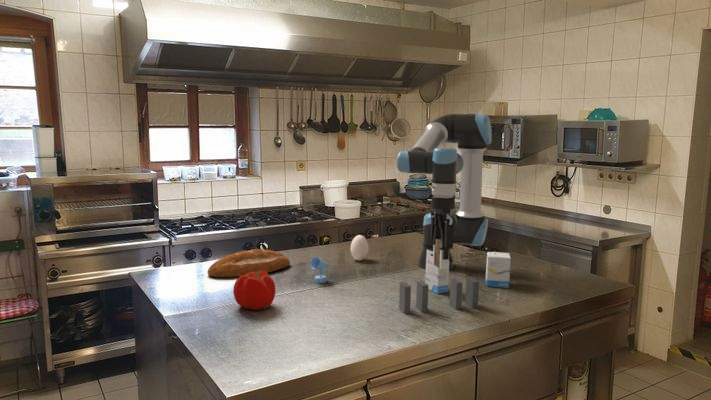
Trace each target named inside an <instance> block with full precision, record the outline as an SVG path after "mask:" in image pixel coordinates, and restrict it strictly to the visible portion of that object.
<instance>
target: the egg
mask: <svg viewBox="0 0 711 400" xmlns="http://www.w3.org/2000/svg"><path fill="white" fill-rule="evenodd" d="M350 254H351V256H352V257H353V258H354V259H355V260H357V261H363V260H365V258H367V256H368V254H369V243H368V241H367V239H366V237H365V236H363V235H361V234H358V235H356V236H354V238H353V239H352V240H351V243H350Z"/></svg>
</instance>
